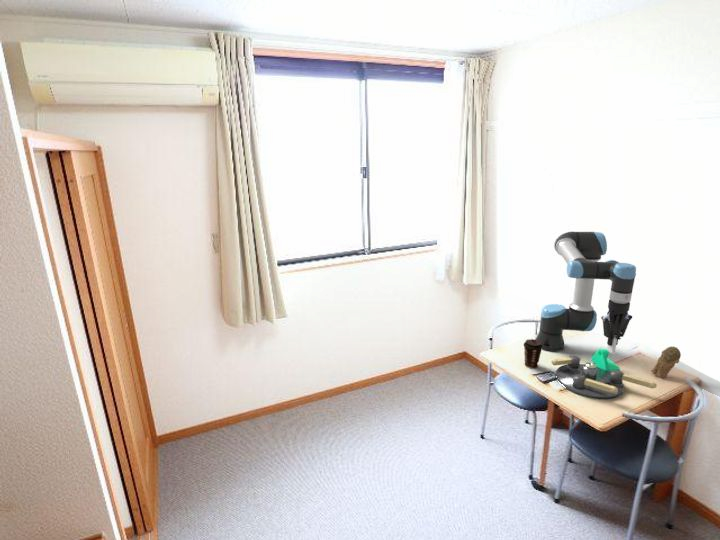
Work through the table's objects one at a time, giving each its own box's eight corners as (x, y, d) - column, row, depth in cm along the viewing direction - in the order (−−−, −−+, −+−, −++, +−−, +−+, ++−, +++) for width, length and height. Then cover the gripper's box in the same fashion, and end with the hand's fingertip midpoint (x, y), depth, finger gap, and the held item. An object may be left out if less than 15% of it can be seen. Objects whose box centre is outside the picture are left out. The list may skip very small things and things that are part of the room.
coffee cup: (533, 360, 216) (535, 337, 212) (544, 367, 208) (546, 344, 205) (518, 362, 214) (520, 339, 210) (529, 370, 206) (531, 346, 203)
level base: (543, 370, 206) (545, 352, 203) (593, 364, 210) (596, 347, 208) (581, 402, 179) (584, 382, 177) (638, 395, 184) (642, 375, 181)
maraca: (574, 363, 207) (575, 354, 206) (581, 368, 203) (582, 359, 201) (548, 366, 205) (549, 357, 204) (554, 371, 200) (555, 362, 199)
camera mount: (620, 373, 202) (623, 354, 199) (605, 374, 202) (608, 355, 199) (605, 361, 213) (608, 343, 211) (590, 362, 213) (593, 344, 210)
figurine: (649, 374, 200) (654, 345, 196) (661, 370, 203) (666, 343, 199) (666, 382, 193) (672, 353, 189) (678, 379, 195) (685, 350, 191)
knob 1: (571, 386, 187) (572, 377, 186) (574, 382, 191) (575, 372, 189) (615, 400, 176) (617, 390, 175) (617, 395, 180) (619, 385, 178)
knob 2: (608, 382, 190) (609, 372, 189) (610, 377, 194) (612, 368, 192) (654, 395, 179) (656, 385, 178) (655, 390, 183) (657, 380, 181)
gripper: (612, 305, 166) (603, 357, 173) (640, 302, 168) (631, 354, 175) (599, 298, 173) (591, 349, 180) (626, 296, 175) (617, 346, 182)
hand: (610, 351), depth 178 cm, fingers closed
